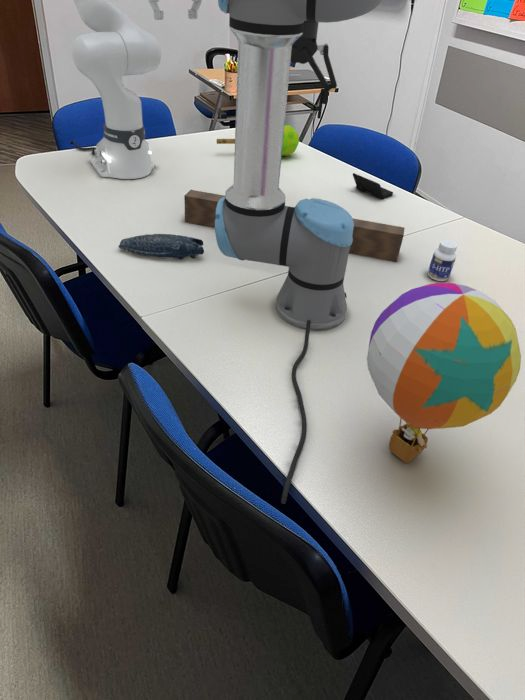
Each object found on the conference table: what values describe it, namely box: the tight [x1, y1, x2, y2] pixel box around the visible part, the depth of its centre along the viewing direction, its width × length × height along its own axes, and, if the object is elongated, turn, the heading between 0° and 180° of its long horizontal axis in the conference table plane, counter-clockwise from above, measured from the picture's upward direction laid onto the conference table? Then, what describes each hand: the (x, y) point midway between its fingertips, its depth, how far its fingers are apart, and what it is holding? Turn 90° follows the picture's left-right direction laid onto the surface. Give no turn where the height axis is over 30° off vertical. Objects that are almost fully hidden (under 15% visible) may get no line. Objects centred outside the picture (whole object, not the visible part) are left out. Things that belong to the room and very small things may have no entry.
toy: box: [366, 282, 522, 464], centre depth 73 cm, size 20×20×30 cm
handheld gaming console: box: [352, 172, 394, 200], centre depth 167 cm, size 12×7×10 cm
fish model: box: [118, 233, 205, 260], centre depth 125 cm, size 7×21×5 cm, turn 84°
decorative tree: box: [216, 124, 300, 157], centre depth 186 cm, size 18×10×30 cm
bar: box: [183, 189, 405, 263], centre depth 137 cm, size 58×5×8 cm, turn 75°
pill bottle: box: [427, 239, 458, 282], centre depth 126 cm, size 5×5×9 cm
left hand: (176, 19), depth 121 cm, fingers open, 8 cm apart
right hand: (292, 114), depth 134 cm, fingers open, 13 cm apart
